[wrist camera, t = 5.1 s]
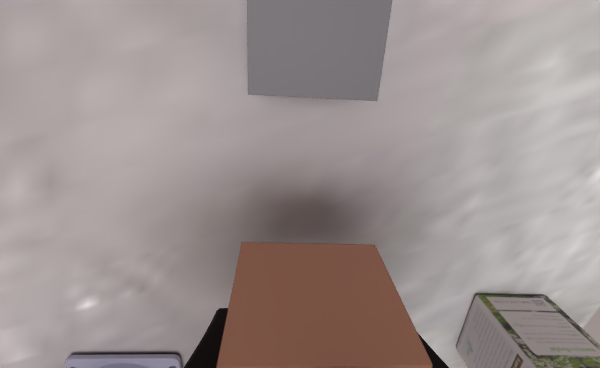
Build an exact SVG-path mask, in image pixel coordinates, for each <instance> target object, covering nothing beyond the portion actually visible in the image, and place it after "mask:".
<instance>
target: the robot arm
mask: <svg viewBox="0 0 600 368" xmlns="http://www.w3.org/2000/svg"><path fill="white" fill-rule="evenodd" d="M227 313H228V308H220V309H218V310H217V311H216V313H215V316H214V318H213V320H212V322H211V324H210V325H209V327H208V329H207V331H206V333H205V334H204V336H203V338H202V340H201V341H200V343H199V345H198V346H197V348H196V349H195V351H194V353H193V354H192V356H191V357H190V359H189V360H188V362H187V364H186V365H185V367H184V368H217V363H218V358H219V353H220V348H221V343H222V338H223V333H224V328H225V323H226V318H227ZM418 336H419V338H420V340H421V342H422V344H423V346H424V348H425V350H426V352H427V354H428V356H429V358H430V360H431V363H432V365H433V366H432V368H449V367H448V366H447V365H446V364H445V363H444V362H443V361H442V360H441V359H440V357H439V356H438V355H437V354H436V353H435V352H434V351H433V350H432V349H431V348H430V346H429V345H428V344H427V343H426V342H425V341H424V340H423V338H422V337H421V336H420V335H419V334H418ZM65 366H66V368H182V367H181V359H180V357H179V356H178V355H175V354H134V355H70V356H68V358H67V359H66V361H65Z"/></svg>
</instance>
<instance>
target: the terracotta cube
mask: <svg viewBox="0 0 600 368" xmlns="http://www.w3.org/2000/svg"><path fill="white" fill-rule="evenodd" d="M432 366H433V365H432V363H431V360H430V358H429V356H428V354H427V352H426V350H425V348H424V346H423V344H422V342H421V340H420V338H419V336H418V333H417V331H416V329H415V327H414V325H413V323H412V321H411V319H410V317H409V315H408V313H407V311H406V309H405V306H404V304H403V302H402V300H401V298H400V296H399V294H398V292H397V290H396V288H395V286H394V284H393V282H392V279H391V277H390V275H389V273H388V271H387V269H386V267H385V265H384V263H383V261H382V259H381V257H380V255H379V252H378V250H377V248H376V246H375V245H362V244H309V243H256V242H242V244H241V249H240V254H239V259H238V264H237V269H236V273H235V278H234V283H233V288H232V293H231V298H230V303H229V308H228V313H227V318H226V323H225V328H224V333H223V338H222V343H221V348H220V353H219V358H218V363H217V368H432Z"/></svg>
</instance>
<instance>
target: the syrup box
mask: <svg viewBox="0 0 600 368" xmlns="http://www.w3.org/2000/svg"><path fill="white" fill-rule="evenodd" d="M457 350H458V352H459V354H460V355H461V357H462V359H463V360H464V362H465V363H466V365H467V367H468V368H600V345H599V344H598V343H597V342H596V341H595V340H594V339H593V338H592V337H591V336H590V335H589V334H588V333H587V332H585V331H584V330H583V329H582V328H581V327H580V326H579V325H578V324H577V323H576V322H574V321H573V320H572V319H571V318H570V317H569V316H568V315H567V314H565V313H564V312H563V311H562V310H561V309H560V308H559V307H558V306H557V305H556V304H555V303H554V302H552V301H551V300H550V299H549V298H548V297H547V296H527V295H525V296H521V295H476V296H475V298H474V301H473V303H472V305H471V308H470V310H469V313H468V315H467V318H466V321H465V324H464V326H463V329H462V332H461V335H460V338H459V341H458V344H457Z"/></svg>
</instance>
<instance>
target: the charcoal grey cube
mask: <svg viewBox="0 0 600 368" xmlns="http://www.w3.org/2000/svg"><path fill="white" fill-rule="evenodd" d="M391 5H392V0H247V33H248V94H250V95H269V96H289V97H308V98H327V99H347V100H366V101H377V99H378V93H379V86H380V79H381V73H382V66H383V59H384V52H385V46H386V39H387V32H388V26H389V19H390V12H391Z"/></svg>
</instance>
